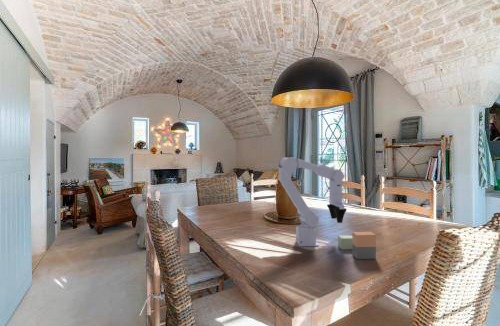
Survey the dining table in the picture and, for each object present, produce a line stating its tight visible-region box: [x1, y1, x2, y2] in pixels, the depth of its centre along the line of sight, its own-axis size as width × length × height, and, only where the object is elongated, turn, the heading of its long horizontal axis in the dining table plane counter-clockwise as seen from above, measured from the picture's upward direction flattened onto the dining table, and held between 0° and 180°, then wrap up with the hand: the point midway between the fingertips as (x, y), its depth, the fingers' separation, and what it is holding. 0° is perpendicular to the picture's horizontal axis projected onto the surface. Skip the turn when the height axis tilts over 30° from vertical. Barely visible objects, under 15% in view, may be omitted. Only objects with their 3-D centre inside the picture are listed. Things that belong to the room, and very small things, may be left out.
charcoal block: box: [351, 245, 377, 260], centre depth 104 cm, size 8×4×5 cm, turn 92°
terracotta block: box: [351, 231, 377, 248], centre depth 103 cm, size 8×4×5 cm, turn 92°
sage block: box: [337, 235, 353, 250], centre depth 115 cm, size 8×4×5 cm, turn 91°
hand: (336, 220), depth 122 cm, fingers open, 7 cm apart
